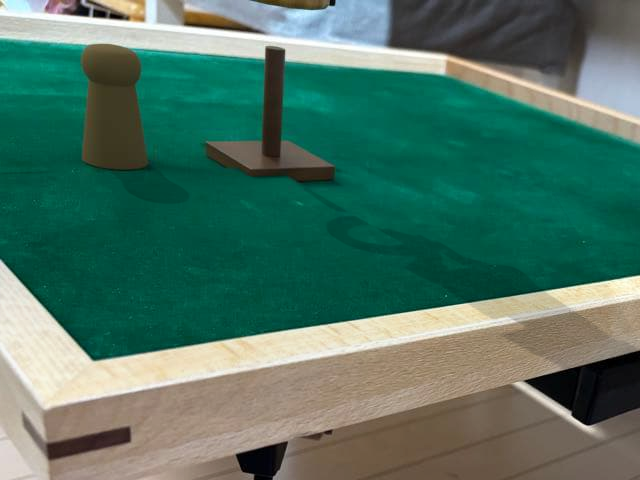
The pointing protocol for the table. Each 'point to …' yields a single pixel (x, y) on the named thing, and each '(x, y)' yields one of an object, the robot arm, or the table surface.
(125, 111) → the cork
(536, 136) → the table surface
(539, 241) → the table surface
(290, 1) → the ring
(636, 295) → the table surface
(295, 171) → the post
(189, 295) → the table surface
